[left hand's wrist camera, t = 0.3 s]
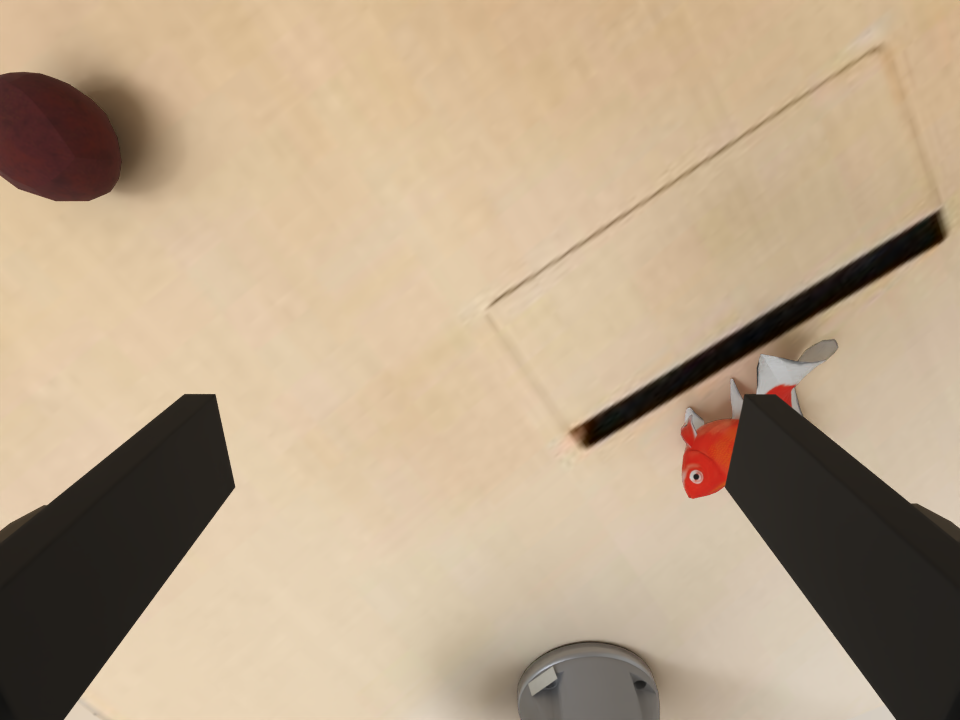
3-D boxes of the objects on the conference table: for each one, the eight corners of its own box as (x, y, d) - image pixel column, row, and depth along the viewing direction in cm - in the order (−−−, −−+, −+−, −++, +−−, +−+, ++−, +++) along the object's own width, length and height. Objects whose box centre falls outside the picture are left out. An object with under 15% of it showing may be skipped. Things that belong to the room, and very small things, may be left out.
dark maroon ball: (83, 57, 34) (-12, 34, 27) (168, 162, 36) (100, 165, 30) (10, 123, 35) (-96, 116, 29) (97, 220, 38) (17, 234, 31)
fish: (624, 400, 38) (746, 477, 31) (760, 283, 42) (900, 326, 34) (646, 479, 45) (751, 558, 37) (762, 372, 48) (879, 425, 41)
